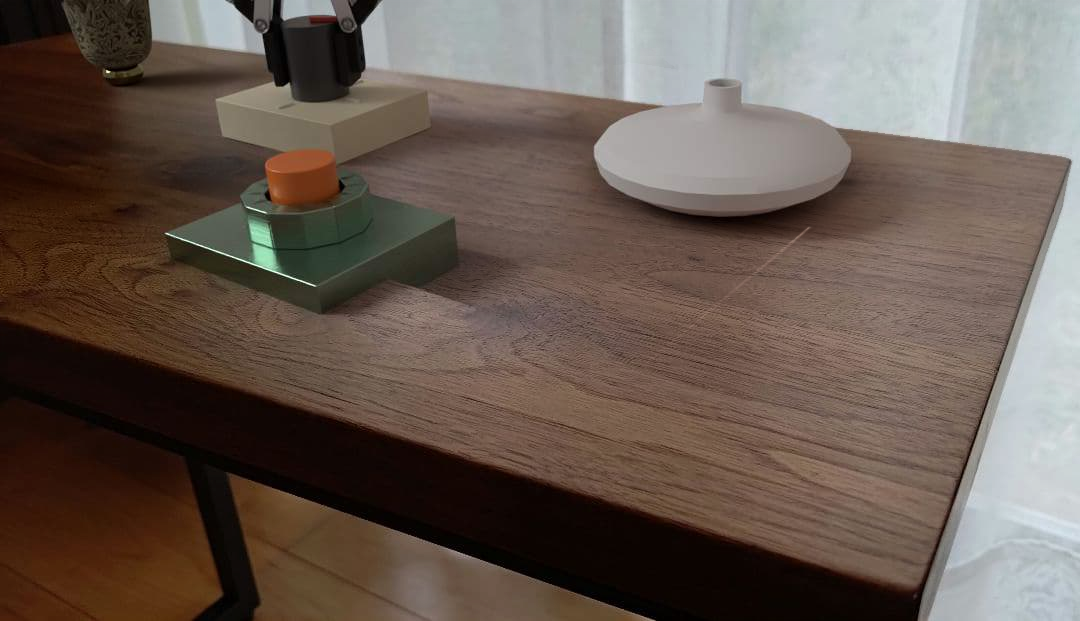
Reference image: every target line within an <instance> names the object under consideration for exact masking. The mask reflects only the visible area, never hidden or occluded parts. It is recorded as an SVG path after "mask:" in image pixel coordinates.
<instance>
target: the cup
mask: <svg viewBox="0 0 1080 621" xmlns="http://www.w3.org/2000/svg"><path fill="white" fill-rule="evenodd" d="M61 6H62V9H63V10H64V13H65V16H66V19H67V20H68V24H69V26H70V29H71V32H72V35H73V36H74V39H75V42H76V44H77V46H78V48H79V50H80V52H81V54H82V55H83V57H84V58H85V59H86V60H87V61H88V62H89V63H90V64H92V65H93V66H95V67H97V68H100V69H102V73H101V74H102V75H101V76H102V79H103V80H104V81H105V83H107V84H109V85H112V86H127V85H133V84H135V83H136V84H137V83H138V82H140V81H141V80H142V79H143V78H144V74H145V70H144V68H143V66H142V65H141V63H143V62H144V61H146V60H147V58H148V57H149V55H150V54H151V51H152V47H153V29H152V18H151V8H150V0H63V1H61Z"/></svg>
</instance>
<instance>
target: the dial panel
mask: <svg viewBox="0 0 1080 621" xmlns="http://www.w3.org/2000/svg"><path fill="white" fill-rule="evenodd" d="M349 88H350V92H349V93H348V94H347V95H346V96H343V97H341V98H338V99H334V100H329V101H321V102H303V101H298V100H295V99H293V98H292V95H291V89H290V82H289V83H288V84H287V85H285V86H284V87H276V86H275V83H274V81H272V82H268V83H265V84H261V85H257V86H255V87H251V88H248V89H245V90H242V91H237V92H235V93H233V94H232V93H231V94H229V95H225V96H221V97H218V98H215V107H216V111H217V116H218V121H219V126H220V132H221V136H222V137H223V138H227V139H231V140H235V141H239V142H243V143H247V144H251V145H254V146H258V147H262V148H265V149H266V148H267V149H270V150H275V151H279V152H283V153H285V152H289V151H295V150H303V149H317V150H324V151H328V152H331V153H332V154H333V155H334V156H335V161H336V166H337V165H340V164H343V163H345V162H348V161H351V160H353V159H356V158H357V157H361V156H363V155H365V154H368V153H370V152H373V151H375V150H378V149H380V148H382V147H386V146H388V145H390V144H393V143H396V142H397V141H398V142H399V141H400V140H402V139H406V138H408V137H411V136H413V135H416V134H417V133H421V132H424V131H425V130H428V129H430V128H431V127H432V126H431V124H432V123H431V114H430V105H429V104H430V103H429V95H428V94H429V93H428V90H427V89H422V88H418V87H411V86H406V85H401V84H395V83H389V82H385V81H378V80H373V79H367V78H362V77H361V78H360V79H359V80H358V81H357V82H356V83H354V84H353V85H352V86H351V87H349Z"/></svg>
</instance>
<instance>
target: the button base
mask: <svg viewBox="0 0 1080 621" xmlns="http://www.w3.org/2000/svg"><path fill="white" fill-rule="evenodd" d="M337 174H338V181H339V188H340V193H339V194H338V195H335V196H333V197H331V198H328V199H326V200H324V201H319V202H314V203H308V204H303V205H281V204H278V203H274V202H272V201H271V197H270V191H269V186H268V180H267V177H265V178H263V179H260V180H258V181H256V182H253V183H252V184H250V185H249V187H247V188H246V189H245V190H244V191H243V192H242V193H241V194H240V203H237V204H234V205H231V206H229V207H227V208H224V209H222V210H219V211H216V212H214V213H212V214H209V215H206V216H204V217H202V218H199V219H196V220H194V221H191V222H189V223H186V224H184V225H182V226H180V227H176V228H174V229H172V230H169V231H167V232H165V233H164V235H165V239H166V244H167V249H168V252H169V256H170V259H171V260H173V261H176V262H178V263H181V264H184V265H186V266H189V267H191V268H194V269H197V270H200V271H202V272H205V273H208V274H210V275H212V276H216V277H218V278H220V279H222V280H223V279H224V280H227V281H229V282H232V283H234V284H237V285H240V286H242V287H245V288H248V289H250V290H252V291H255V292H259V293H261V294H264V295H266V296H269V297H272V298H273V299H274V298H275V299H277V300H280V301H283V302H285V303H287V304H291V305H294V306H295V307H298V308H300V309H304V310H306V311H308V312H309V311H310V312H312V313H315V314H317V315H323V314H325V313H327V312H329V311H331V310H333V309H335V308H336V307H338V306H340V305H342V304H344V303H346V302H348V301H349V300H352V299H353V298H355V297H357V296H359V295H361V294H362V293H364V292H367V291H368V290H370V289H372V288H373V287H376V286H377V285H379V284H382V283H383V282H384V281H387V280H390V281H393V282H396V283H400V284H401V285H406V286H409V287H412V288H414V289H419V288H421V287H423V286H425V285H427V284H429V283H430V282H433V281H434V280H436V279H438V278H439V277H441V276H443V275H444V274H446V273H448V272H451V271H452V270H454V269H455V268H457V267H459V266H460V260H459V248H458V236H457V227H456V226H457V225H456V216H455V215H451V214H447V213H444V212H440V211H437V210H432V209H429V208H425V207H421V206H418V205H414V204H410V203H407V202H402V201H399V200H395V199H391V198H387V197H383V196H381V195H377V194H372V193H371V192H370V185H369V183H368V181H367V180H366V179H365V178H364V177H363V175H362V174H361V173H358V172H353V171H350V170H347V169H343V168H337ZM453 268H454V269H453Z"/></svg>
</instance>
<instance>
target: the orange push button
mask: <svg viewBox="0 0 1080 621" xmlns="http://www.w3.org/2000/svg"><path fill="white" fill-rule="evenodd" d="M264 168H265V174H266V178H267V180H268V186H269V191H270V197H271V201H272V202H274V203H278V204H281V205H303V204H308V203H314V202H319V201H324V200H326V199H328V198H331V197H333V196H335V195H338V194H339V193H340V188H339V181H338V174H337V169H338V168H337V165H336V161H335V156H334V155H333V154H332V153H331V152H328V151H324V150H317V149H303V150H295V151H289V152H283V153H282V152H281V153H279V154H276V155H274V156H272V157H270V158H268V159H267V160H266V162H265V163H264Z"/></svg>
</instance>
